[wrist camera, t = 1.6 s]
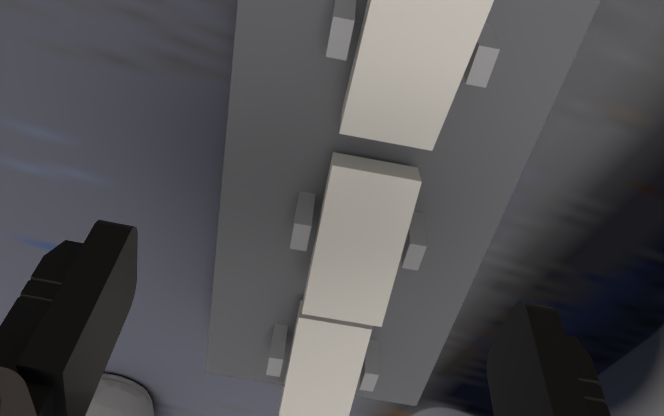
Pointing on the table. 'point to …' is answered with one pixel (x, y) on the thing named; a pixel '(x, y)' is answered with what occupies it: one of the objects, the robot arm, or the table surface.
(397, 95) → the plate
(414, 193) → the rocker middle
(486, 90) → the switch unit
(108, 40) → the table surface
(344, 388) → the rocker
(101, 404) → the mug
